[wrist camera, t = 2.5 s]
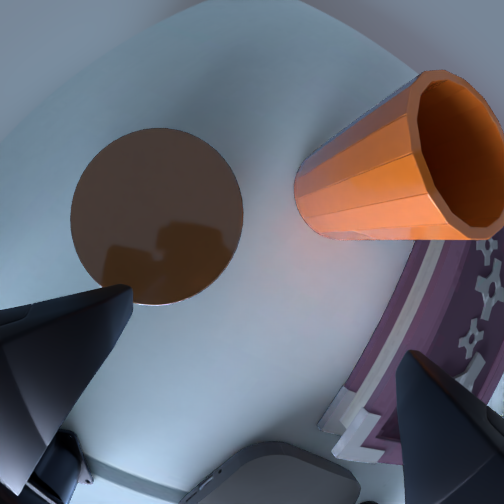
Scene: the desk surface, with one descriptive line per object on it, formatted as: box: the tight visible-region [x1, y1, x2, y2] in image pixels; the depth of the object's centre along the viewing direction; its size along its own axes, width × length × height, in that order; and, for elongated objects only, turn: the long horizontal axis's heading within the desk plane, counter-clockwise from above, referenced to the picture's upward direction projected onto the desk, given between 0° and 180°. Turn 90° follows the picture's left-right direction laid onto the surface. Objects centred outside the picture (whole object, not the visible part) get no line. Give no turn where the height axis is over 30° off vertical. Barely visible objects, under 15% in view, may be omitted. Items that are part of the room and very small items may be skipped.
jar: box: [70, 128, 243, 306], centre depth 17 cm, size 9×9×5 cm
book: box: [317, 226, 504, 465], centre depth 22 cm, size 25×16×5 cm, turn 151°
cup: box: [294, 70, 504, 240], centre depth 15 cm, size 7×7×13 cm
